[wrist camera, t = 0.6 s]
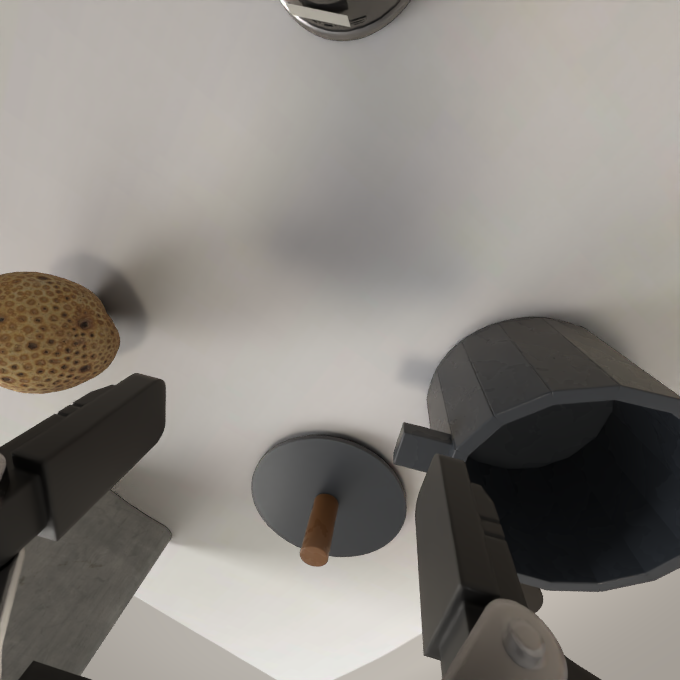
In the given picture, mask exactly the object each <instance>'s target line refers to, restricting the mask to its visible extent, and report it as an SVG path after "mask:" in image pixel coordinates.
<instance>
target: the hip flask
mask: <svg viewBox="0 0 680 680" xmlns="http://www.w3.org/2000/svg"><path fill="white" fill-rule="evenodd" d="M170 539H171V533H170V531H169V530H168V528H166V527H165V526H164V525H162V524H160V523H158V522H157V521H155V520H153V519H151V518H150V517H148V516H147V515H145V514H143V513H142V512H140V511H139V510H137V509H136V508H134V507H133V506H131V505H130V504H128V503H127V502H126V501H124V500H123V499H122V498H120V497H119V496H118V495H116V494H115V493H114V492H112V491H111V490H109V491H108V492H107V493H106V494H105V495H104V496H103V497H102V498H101V499H100V500H99V501H98V502H97V503H96V504H95V505H94V506H93V507H92V508H91V509H90V510H89V511H88V512H87V513H86V514H85V515H84V516H83V517H82V518H81V519H80V520H79V521H78V522H77V523H76V524H75V525H74V526H73V527H72V528H71V529H70V530H69V531H68V532H67V533H66V534H65V535H64V536H63V537H61V538H60V539H59V540H58V541H57V542H56V541H53V540H50V539H46V538H43V537H40V536H36V537H35V538H34V539H33V540H31V541H30V542H29V543H28V544H27V545H26V546H25V550H26V555H25V560H24V563H23V567H22V571H21V575H20V579H19V583H18V587H17V590H16V594H15V598H14V602H13V606H12V610H11V614H10V618H9V621H8V625H7V629H6V633H5V637H4V641H3V647H2V657H1V664H2V671H1V680H18V679H19V678H20V677H21V675H22V674H23V673H24V672H25V670H26V669H27V668H28V667H29V665H30V664H31V663H32V662H33V661H36V662H40V663H43V664H46V665H49V666H52V667H55V668H58V669H61V670H64V671H67V672H70V673H73V674H76V675H79V676H80V675H81V674H82V672H83V671H84V669H85V668H86V666H87V665H88V663H89V662H90V660H91V658H92V657H93V656H94V654H95V653H96V651H97V650H98V648H99V647H100V645H101V644H102V642H103V641H104V639H105V638H106V636H107V635H108V633H109V632H110V630H111V629H112V627H113V626H114V624H115V623H116V621H117V620H118V618H119V616H120V615H121V613H122V612H123V610H124V609H125V607H126V606H127V604H128V603H129V601H130V600H131V598H132V597H133V595H134V594H135V592H136V591H137V589H138V588H139V586H140V585H141V583H142V582H143V580H144V579H145V577H146V576H147V574H148V573H149V571H150V570H151V568H152V567H153V565H154V564H155V562H156V561H157V559H158V558H159V556H160V554H161V553H162V551H163V550H164V548H165V547H166V545H167V544H168V542H169V541H170Z"/></svg>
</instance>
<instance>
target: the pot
mask: <svg viewBox="0 0 680 680" xmlns="http://www.w3.org/2000/svg"><path fill="white" fill-rule="evenodd" d="M427 406H428V413H429V421H430V428H431V429H429V428H425V427H421V426H417V425H413V424H409V423H403V425H402V428H401V431H400V434H399V438H398V441H397V444H396V447H395V450H394V455H393V463H394V464H396V465H400V466H403V467H407V468H411V469H415V470H419V471H423V472H427V471H428V469H429V466H430V464H431V461H432V459H433V457H434V455H435V454H441V455H445V456H448V457H452V458H456V459H460V460H463V461H464V462H465V464H466V467H467V471H468V475H469V478H470V482H471V483H475V484H479V485H481V486H482V487H483V489H484V490H485V491H486V493H487V494H488V496H489V497H490V498H491V500H492V501H493V502H494V505H495V508H496V511H497V514H498V517H499V520H500V522H499V524H500V525H501V527H502V530H503V533H504V536H505V538H504V540H505V541H506V542H507V545H508V548H509V551H510V554H511V557H512V560H513V563H514V566H515V569H516V572H517V575H518V578H519V581H520V583H522V584H526V585H529V586H533V587H537V588H541V589H544V590H550V591H587V592H588V591H589V592H599V591H607V590H612V589H617V588H621V587H626V586H631V585H635V584H640V583H645V582H650V581H654V580H657V579H658V578H661V577H662V576H665V575H667V574H668V573H670V572H672V571H674V570H676V569H678V568H680V396H679V395H677V394H676V393H674V392H673V391H672V390H670V389H669V388H668V387H666V386H665V385H663V384H662V383H661V382H659V381H658V380H656V379H655V378H654V377H652V376H651V375H649V374H648V373H647V372H645V371H644V370H642V369H641V368H640V367H638V366H637V365H635V364H634V363H633V362H631V361H630V360H628V359H627V358H626V357H624V356H623V355H621V354H620V353H619V352H617V351H616V350H615V349H613V348H612V347H610V346H609V345H608V344H606V343H605V342H603V341H602V340H601V339H599V338H598V337H596V336H595V335H594V334H592V333H591V332H589V331H588V330H587V329H585V328H583V327H581V326H577V325H574V324H572V323H568V322H565V321H561V320H557V319H550V318H539V317H528V318H517V319H511V320H506V321H502V322H499V323H496V324H492V325H490V326H487V327H485V328H483V329H480V330H478V331H476V332H475V333H473V334H471V335H469V336H468V337H466V338H465V339H464V340H462V341H461V342H460V343H458V344H457V345H456V346H455V347H454V348H453V349H452V350H451V351H450V352H449V353H448V354H447V355H446V356H445V357H444V359H443V360H442V361H441V363H440V364H439V366H438V367H437V369H436V371H435V373H434V375H433V378H432V380H431V383H430V387H429V391H428V396H427Z"/></svg>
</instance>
